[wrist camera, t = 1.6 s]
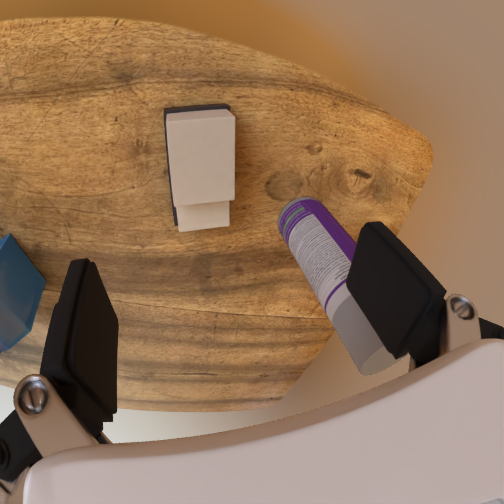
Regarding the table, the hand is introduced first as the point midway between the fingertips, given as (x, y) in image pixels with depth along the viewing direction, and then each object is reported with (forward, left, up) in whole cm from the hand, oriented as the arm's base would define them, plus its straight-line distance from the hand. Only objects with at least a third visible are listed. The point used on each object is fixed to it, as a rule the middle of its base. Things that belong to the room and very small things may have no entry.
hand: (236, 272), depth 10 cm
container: (+7, +9, -14) cm, 18 cm away
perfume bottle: (+8, -20, -14) cm, 26 cm away
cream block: (+1, 0, -14) cm, 14 cm away
